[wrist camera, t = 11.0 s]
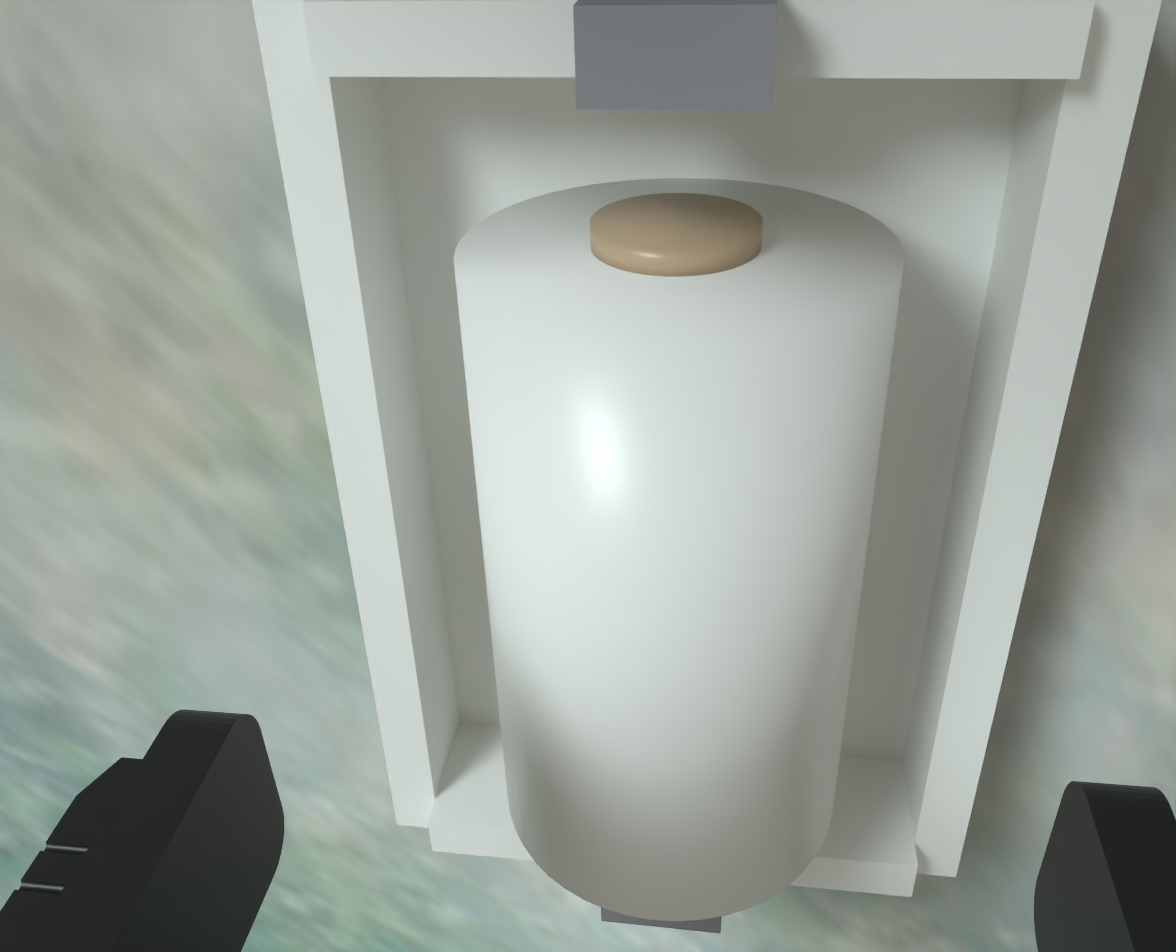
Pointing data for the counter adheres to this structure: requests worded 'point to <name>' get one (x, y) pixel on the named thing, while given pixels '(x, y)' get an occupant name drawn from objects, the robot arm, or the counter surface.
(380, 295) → the holder
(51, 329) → the counter surface
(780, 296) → the paper roll
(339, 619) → the counter surface
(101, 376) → the counter surface
